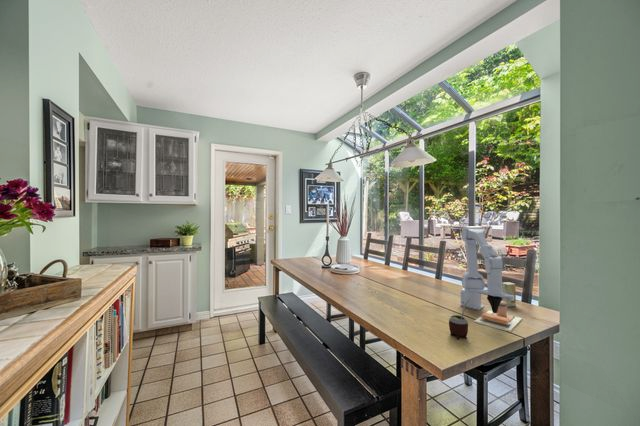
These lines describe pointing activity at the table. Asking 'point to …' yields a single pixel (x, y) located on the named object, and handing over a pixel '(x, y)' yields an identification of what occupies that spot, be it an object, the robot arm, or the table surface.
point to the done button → (495, 318)
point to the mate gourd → (458, 325)
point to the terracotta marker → (502, 309)
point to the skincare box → (509, 292)
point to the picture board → (507, 327)
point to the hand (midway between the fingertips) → (495, 312)
